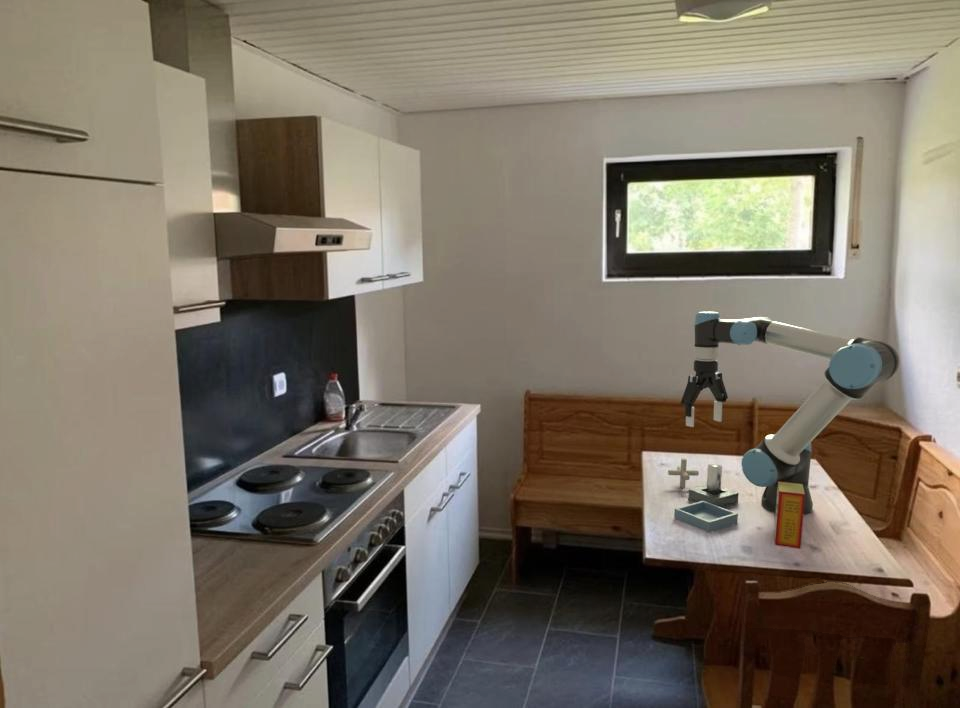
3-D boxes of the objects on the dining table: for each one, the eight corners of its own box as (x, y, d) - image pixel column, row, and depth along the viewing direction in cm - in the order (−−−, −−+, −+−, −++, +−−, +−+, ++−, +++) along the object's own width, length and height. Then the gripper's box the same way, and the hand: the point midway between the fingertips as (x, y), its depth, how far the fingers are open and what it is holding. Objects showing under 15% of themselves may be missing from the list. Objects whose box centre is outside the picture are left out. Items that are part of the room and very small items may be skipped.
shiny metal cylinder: (722, 502, 235) (725, 466, 234) (714, 504, 233) (716, 468, 231) (711, 498, 239) (713, 463, 237) (703, 500, 237) (705, 465, 235)
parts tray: (737, 523, 217) (738, 513, 217) (708, 532, 210) (709, 522, 210) (702, 510, 228) (702, 500, 227) (674, 518, 221) (674, 508, 220)
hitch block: (737, 503, 235) (738, 492, 234) (715, 509, 229) (716, 499, 228) (710, 493, 244) (710, 483, 243) (688, 499, 238) (688, 489, 237)
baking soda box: (773, 532, 211) (777, 479, 208) (798, 535, 209) (802, 482, 206) (775, 545, 202) (779, 490, 200) (800, 548, 200) (805, 493, 197)
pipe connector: (701, 492, 245) (702, 463, 243) (671, 491, 245) (672, 463, 243) (693, 482, 255) (694, 454, 253) (664, 481, 255) (666, 454, 253)
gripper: (721, 355, 245) (719, 416, 247) (670, 361, 231) (668, 426, 234) (740, 357, 238) (738, 420, 241) (688, 364, 225) (686, 430, 228)
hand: (703, 423), depth 237 cm, fingers open, 13 cm apart
